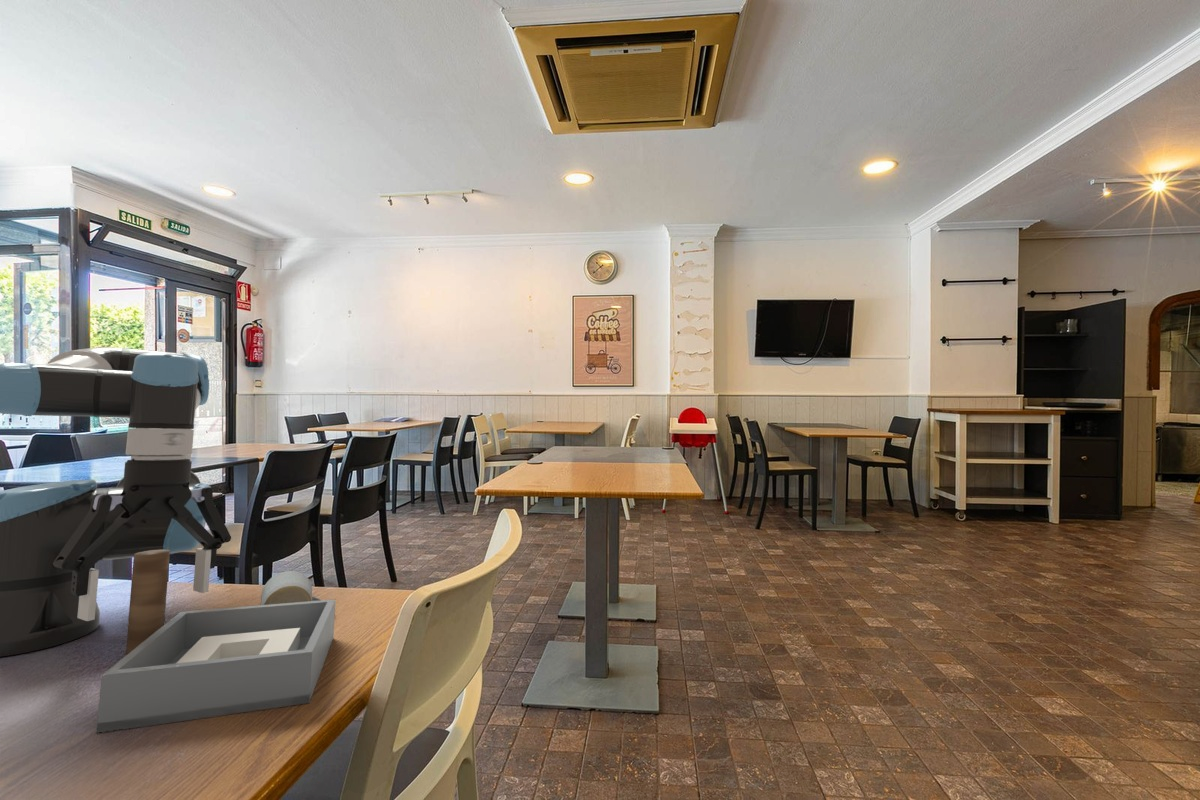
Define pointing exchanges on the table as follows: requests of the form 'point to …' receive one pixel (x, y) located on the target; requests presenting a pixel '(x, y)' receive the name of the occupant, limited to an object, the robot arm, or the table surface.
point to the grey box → (219, 665)
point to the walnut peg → (147, 596)
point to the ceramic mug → (287, 589)
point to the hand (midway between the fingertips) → (148, 604)
